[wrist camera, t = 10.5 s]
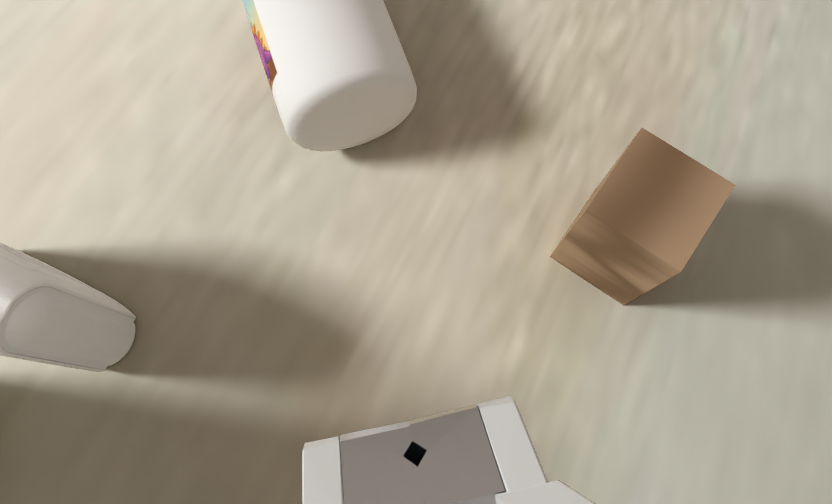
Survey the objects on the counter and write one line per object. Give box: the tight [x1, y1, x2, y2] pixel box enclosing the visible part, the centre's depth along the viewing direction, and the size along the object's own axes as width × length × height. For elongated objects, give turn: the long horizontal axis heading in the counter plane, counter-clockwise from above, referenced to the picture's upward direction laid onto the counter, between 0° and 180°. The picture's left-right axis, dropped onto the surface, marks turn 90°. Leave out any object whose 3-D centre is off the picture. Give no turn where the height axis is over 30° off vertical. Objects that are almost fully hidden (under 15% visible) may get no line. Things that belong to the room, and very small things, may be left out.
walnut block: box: [550, 128, 735, 305], centre depth 36 cm, size 5×5×9 cm
